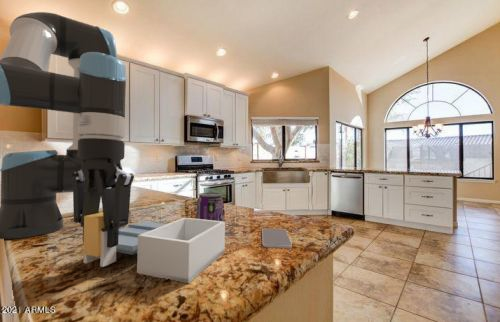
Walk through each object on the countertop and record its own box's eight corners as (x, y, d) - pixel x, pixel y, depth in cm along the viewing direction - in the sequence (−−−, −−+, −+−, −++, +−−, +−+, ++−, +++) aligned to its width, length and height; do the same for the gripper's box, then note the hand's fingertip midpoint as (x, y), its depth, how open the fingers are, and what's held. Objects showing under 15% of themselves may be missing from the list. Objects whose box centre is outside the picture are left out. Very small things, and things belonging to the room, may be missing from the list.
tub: (137, 273, 43) (137, 235, 43) (183, 245, 57) (184, 217, 57) (188, 283, 40) (189, 242, 40) (224, 251, 54) (225, 221, 54)
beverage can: (217, 242, 60) (218, 196, 60) (191, 240, 61) (192, 195, 61) (225, 234, 67) (226, 192, 67) (202, 232, 68) (203, 191, 68)
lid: (67, 258, 44) (68, 214, 44) (144, 230, 63) (144, 199, 63) (114, 268, 40) (115, 219, 40) (180, 235, 59) (181, 202, 59)
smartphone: (285, 228, 72) (292, 245, 57) (285, 231, 72) (292, 249, 57) (261, 228, 72) (262, 244, 57) (261, 231, 72) (262, 248, 57)
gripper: (50, 137, 43) (47, 263, 43) (119, 135, 38) (116, 278, 38) (89, 141, 50) (87, 249, 50) (152, 140, 45) (149, 260, 45)
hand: (99, 261), depth 44 cm, fingers closed on lid, 3 cm apart
